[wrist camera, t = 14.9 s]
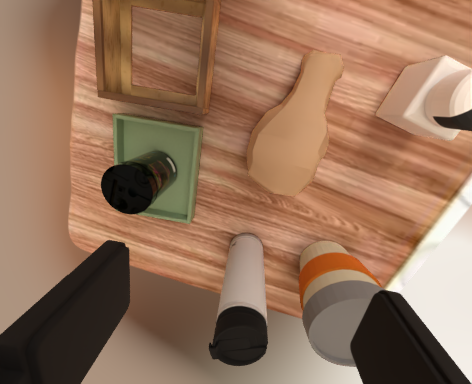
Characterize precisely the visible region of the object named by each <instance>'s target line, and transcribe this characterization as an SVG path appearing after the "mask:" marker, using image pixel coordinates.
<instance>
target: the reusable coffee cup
mask: <svg viewBox="0 0 472 384" xmlns="http://www.w3.org/2000/svg"><path fill="white" fill-rule="evenodd" d="M380 290H385V289H383V288H382V287H381V285H380V283H379V281H378V280H377V279H376V278H375V277H374V276H373V275H372V274H371V273H370V272H369V271H368V270H367V268H366V267H365V266H364V265H363V264H362V263H361V262H360V261H359V260H358V259H356V258H354V257H353V256H351V255H350V254H349V253H348V252H347V251H346V250H345V249H344V248H343V247H342V246H341V245H339V244H338V243H335V242H332V241H319V242H316V243H313V244H311V245H309V246H308V247H307V248H306V249H305V250H304V251H303V252H302V254H301V256H300V275H299V291H300V303H301V308H302V310H303V315H302V319H303V324H304V327H305V330H306V333H307V336H308V339H309V342H310V344H311V346H312V348H313V349H314V351H315V352H316V353H317V354H318V355H319V356H321V357H322V358H323V359H325V360H327V361H329V362H331V363H334V364H337V365H343V366H353V367H356V364H355V362H354V359H353V357H352V354H351V350H350V343H351V340H352V338H353V336H354V334H355V332H356V330H357V328H358V326H359V324H360V322H361V320H362V318H363V316H364V314H365V312H366V310H367V307H368V305H369V303H370V301H371V299H372V297H373V295H374V294H375V293H378V292H379V291H380Z"/></svg>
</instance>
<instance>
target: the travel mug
mask: <svg viewBox="0 0 472 384" xmlns="http://www.w3.org/2000/svg"><path fill="white" fill-rule="evenodd" d="M267 338H268V337H267V310H266V292H265V275H264V257H263V245H262V242H261V240H260V239H259V238H258V237H257V236H255V235H253V234H249V233H242V234H239V235H237V236H235V237H234V238H233V239H232V241H231V243H230V249H229V254H228V259H227V265H226V270H225V276H224V281H223V287H222V292H221V297H220V303H219V308H218V314H217V320H216V328H215V334H214V339H213V344H212V345H211V343H210V344H209V351H210V354H211V356H212V358H213V359H219V360H220V361H222V362H224V363H226V364H228V365H233V366H244V365H248V364H252V363H254V362H256V361H257V360H259V359H260V358H261V357H263V355H264V354H265V353H266V349H267V344H268V339H267Z"/></svg>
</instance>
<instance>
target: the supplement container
mask: <svg viewBox="0 0 472 384" xmlns="http://www.w3.org/2000/svg"><path fill="white" fill-rule="evenodd" d="M176 178H177V168H176V165H175V163H174V161H173V160H172V158H171V157H170V156H168V155H167V154H165V153H163V152H160V151H150V152H147V153H145V154H142V155H140V156H137V157H135V158H132V159H130V160H127V161H125V162H121V163H119V164H117V165H115V166H112V167H110V168H109V169H108V170H106V172H105V173H104V175H103V177H102V180H101V189H102V193H103V195H104V197H105V199H106V200H107V202H108V203H109V204H110V205H111V206H112V207H113V208H115V209H116V210H118V211H120V212H122V213H125V214H138V213H141V212H143V211H145V210H146V209H147V208H148V207H149V206H151V205H152V204H153V203H154V201H155V200H156V199H158V198H159V197H160V196H161V195H162V194H163V193H164V192H165V191H166V190H167V189H168V188H169V187H170V186H172V185H173V183H174V182H175V180H176Z"/></svg>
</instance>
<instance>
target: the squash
mask: <svg viewBox="0 0 472 384" xmlns="http://www.w3.org/2000/svg"><path fill="white" fill-rule="evenodd" d="M343 69H344V66H343V63H342V58H341V55H340V54H331V53H325V52H321V51H318V50H312V51H311V52H309V53H308V54H306V55H305V56H304V57H303V60H302V63H301V73H300V75H299V77H298V79H297V81H296V83H295V85H294V88H293V90H292V91H291V93H290V94H289V95H288V96H287V97H286V99H285V100H284V101H283V102H282V103H281V104H280V105H278V106H276V107H274V108H272V109H271V110H269V111H267V112H266V113H265V115H264V116H263V117H262V119H261V120H260V121H259V123H258V124H257V125H256V127H255V128H254V129H253V131H252V134H251V137H250V141H249V145H248V148H247V165H248V175H249V177H250V178H251V179H252V180H254V181H255V182H256V183H257V184H258V185H260V186H261V187H262V188H263V189H264V190H266V191H267V192H269V193H270V194H280V195H287V196H294V197H295V196H296V195H297V194H299V193H300V192H301V191H302V190H303V189H304V188H306V187H307V186H308V185H309V184H310V183H311V182H313V179H314V176H315V173H316V170H317V167H318V164H319V161H320V160H321V159H322V158H323V157H324V156H325V155H326V151H327V147H328V144H329V135H328V127H327V120H326V117H325V112H326V109H327V105H328V102H329V99H330V96H331V93H332V90H333V87H334V84H335V81H336V80H338V79H339V78H341V76H342V72H343Z"/></svg>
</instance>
